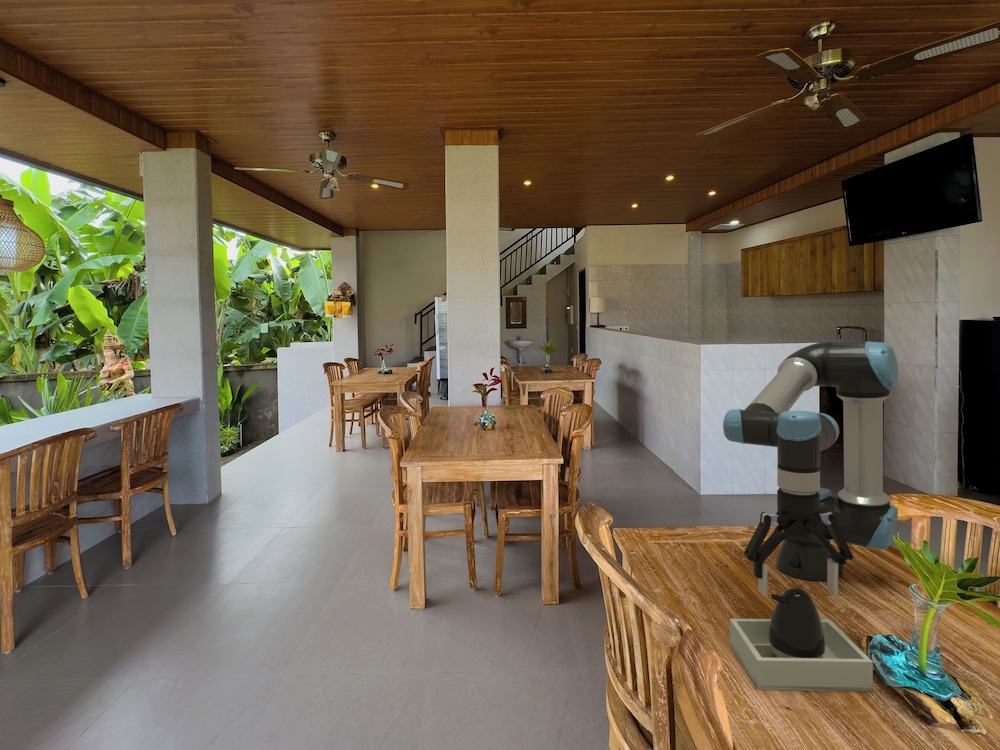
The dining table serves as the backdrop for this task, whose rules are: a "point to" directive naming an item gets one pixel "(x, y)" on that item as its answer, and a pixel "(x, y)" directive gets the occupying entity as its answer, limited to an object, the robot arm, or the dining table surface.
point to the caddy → (801, 661)
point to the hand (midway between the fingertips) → (797, 592)
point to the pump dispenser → (796, 626)
